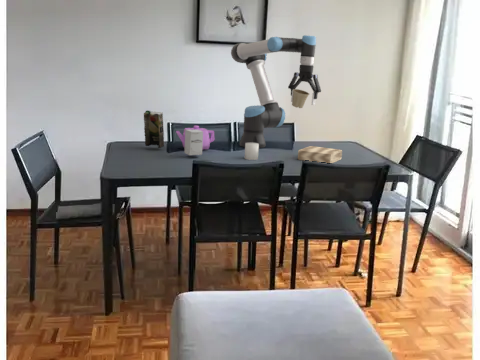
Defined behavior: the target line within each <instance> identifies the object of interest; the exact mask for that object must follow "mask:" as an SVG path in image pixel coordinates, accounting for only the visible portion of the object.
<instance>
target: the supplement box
mask: <svg viewBox="0 0 480 360" xmlns="http://www.w3.org/2000/svg"><path fill="white" fill-rule="evenodd" d="M202 146H203V131H201V130H185V148H184V154H186V155H188V156H202V155H203V149H202Z"/></svg>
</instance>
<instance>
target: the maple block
mask: <svg viewBox="0 0 480 360" xmlns="http://www.w3.org/2000/svg"><path fill="white" fill-rule="evenodd" d="M342 157H343V150H342V149H337V148H330V147H329V148H328V147H322V146H315V145H310V146H306V147H304V148H301V149H298V152H297V160H299V161H305V160H309V161H308V162H312V161H317V162H316V163H319V162H326V163H332V164H333V163H336V162H338V161H340V160H342ZM326 163H325V164H326Z"/></svg>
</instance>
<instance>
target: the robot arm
mask: <svg viewBox="0 0 480 360" xmlns="http://www.w3.org/2000/svg"><path fill="white" fill-rule="evenodd" d="M316 47H317V37H316V36H315V35H306V34H305V35H302V38H297V37H296V38H294V37H279V36H272V37H269V38H267V39H263V40H258V41H254V42H249V43H245V42H241V43H236V44H234V45H233V46H232V47H231V51H230V55H231V57H232V59H233V60H234V61H235V62H236V63H239V64H245V65H246V68H247V70H249V71H250V73H251V74H250V75H251V77H252V79H253V80H252V81H253V83H254V86H255V87H254V88H255V90H256V94H257V97H258V100H259V104H260V105H258V104H257V105H250V106H247V107H245V109H244V113H243V133H242V135H241V137H240V140H239V141H240V142H239V146H240V147H243V148H245V143H248V142H253V143H258V144H259V149H262V148H265V147H266V144H267V143H266V139H265V136H264V128H269V129H270V128H278V127H281V126H282V125H284V123H285V121H286V111H285V109H284V108H283V107H280V105H279V103H278V102H277V101H276V100H275V98H274V95H273V91H272V88H271V86H270V82H269V78H268V75H267V72H266V68H265V64H266V60H267V55H268V54H272V53H278V52H282V53H283V52H285V53H298V54H299V53H300V58H299V63H300V65H299V69H298V71H299V72H297V71H296V72H294V73H293V77H292V79H291V81H290V82H289V85H288V89H289V90H290V96H291V99H290V102H291V103H292V101H293V89H297V87H298V86H299V85H300V84H301V83H303V82H304V83H305V82H306V83H308V84H309V86H310V88H311V90H312V91H313V93H312V94H311V95H312V96H311V106H316V102H317V101H316V100H317V99H318V94H319V93H321V92H322V90H321V86H320V82H319V79H318V78H319V77H318V74H313V73H314V64H315V53H316Z"/></svg>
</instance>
